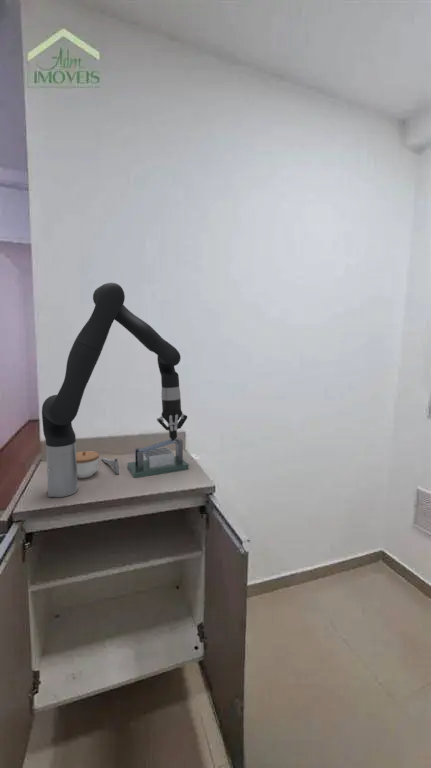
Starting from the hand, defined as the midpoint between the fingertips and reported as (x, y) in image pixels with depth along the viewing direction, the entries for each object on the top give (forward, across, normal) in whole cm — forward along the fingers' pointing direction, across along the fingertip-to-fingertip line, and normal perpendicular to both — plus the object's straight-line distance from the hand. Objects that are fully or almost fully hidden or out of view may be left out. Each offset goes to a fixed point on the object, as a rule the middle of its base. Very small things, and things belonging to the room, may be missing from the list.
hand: (173, 439), depth 143 cm
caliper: (+11, -25, +10) cm, 29 cm away
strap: (+2, -7, 0) cm, 7 cm away
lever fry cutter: (+11, -8, 0) cm, 14 cm away
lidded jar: (+10, -35, +5) cm, 37 cm away
